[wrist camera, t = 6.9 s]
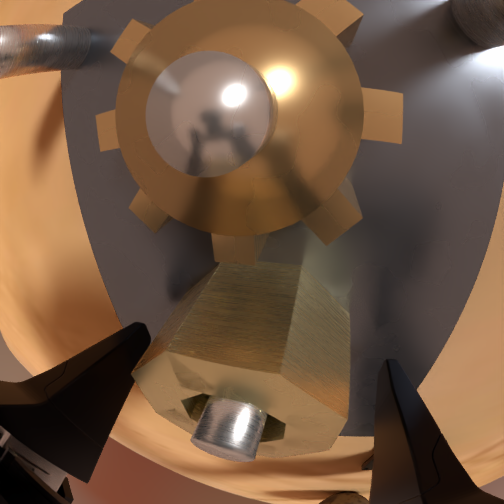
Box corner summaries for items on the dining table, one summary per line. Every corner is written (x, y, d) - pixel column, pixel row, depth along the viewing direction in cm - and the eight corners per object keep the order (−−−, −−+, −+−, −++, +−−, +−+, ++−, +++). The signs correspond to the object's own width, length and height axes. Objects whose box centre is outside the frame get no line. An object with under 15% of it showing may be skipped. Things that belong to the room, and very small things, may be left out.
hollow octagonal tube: (330, 382, 11) (320, 463, 7) (203, 362, 12) (169, 430, 9) (358, 270, 8) (367, 381, 4) (176, 253, 9) (107, 332, 6)
